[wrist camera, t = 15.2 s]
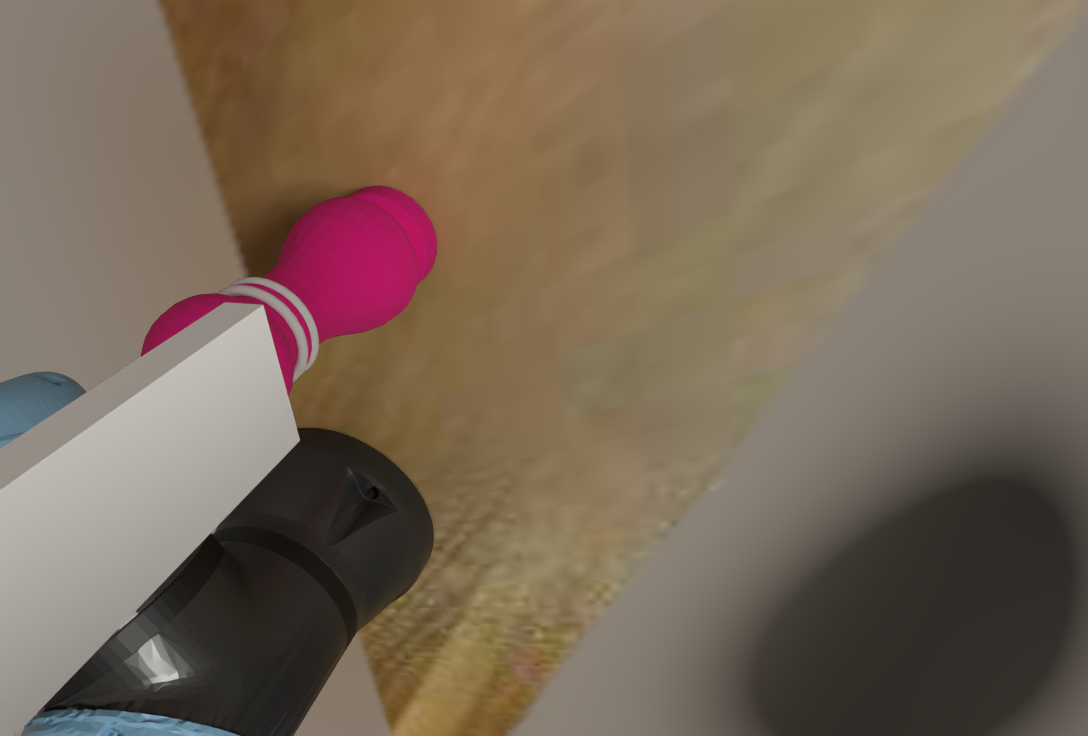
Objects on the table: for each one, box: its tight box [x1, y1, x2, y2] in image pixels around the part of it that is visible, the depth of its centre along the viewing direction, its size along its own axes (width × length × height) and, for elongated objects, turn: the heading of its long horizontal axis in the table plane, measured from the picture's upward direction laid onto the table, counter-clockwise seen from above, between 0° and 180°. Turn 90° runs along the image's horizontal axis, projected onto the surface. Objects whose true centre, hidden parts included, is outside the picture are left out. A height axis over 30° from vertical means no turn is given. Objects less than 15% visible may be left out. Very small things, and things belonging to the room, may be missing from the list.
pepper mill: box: [141, 186, 437, 396], centre depth 36 cm, size 7×7×20 cm
